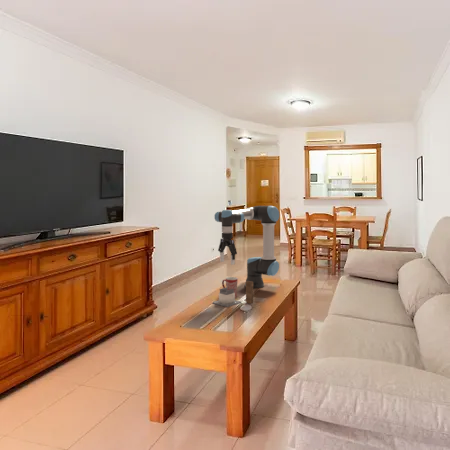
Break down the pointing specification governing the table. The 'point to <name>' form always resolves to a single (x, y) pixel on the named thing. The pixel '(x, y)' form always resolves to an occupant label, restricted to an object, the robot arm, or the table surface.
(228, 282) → the mug
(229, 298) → the square plate with disc
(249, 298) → the wood plank
